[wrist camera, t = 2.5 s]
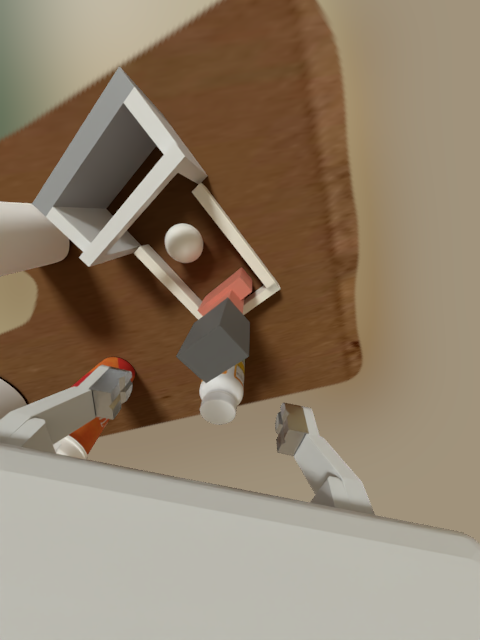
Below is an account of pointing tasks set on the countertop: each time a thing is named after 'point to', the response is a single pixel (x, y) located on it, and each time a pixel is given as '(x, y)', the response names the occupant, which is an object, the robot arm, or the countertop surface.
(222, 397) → the supplement bottle
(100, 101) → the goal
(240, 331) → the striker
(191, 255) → the ball
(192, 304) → the white flat open frame
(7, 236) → the can
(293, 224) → the countertop surface
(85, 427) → the paper cup
